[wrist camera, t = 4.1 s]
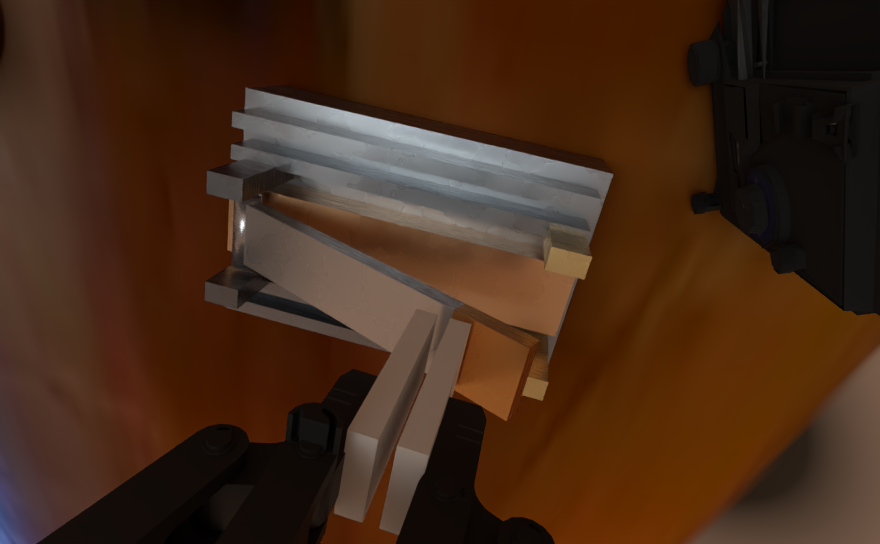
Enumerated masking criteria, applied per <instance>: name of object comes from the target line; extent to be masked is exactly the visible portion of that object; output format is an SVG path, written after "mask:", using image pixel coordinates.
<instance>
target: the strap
mask: <svg viewBox="0 0 880 544" xmlns="http://www.w3.org/2000/svg"><path fill="white" fill-rule="evenodd" d="M231 264H232V266H233V267H234V268H237V269H241V270H251V269H253V270H254V271H256V272H258V273H259V274H261V275H263V276H264V277H266V278H268V279H269V280H271V281H273V282H274V283H276V284H278V285H279V286H281V287H283V288H284V289H286V290H288V291H289V292H291V293H293V294H294V295H296V296H298V297H299V298H301V299H303V300H304V301H306V302H308V303H309V304H311V305H313V306H314V307H316V308H318V309H319V310H321V311H323V312H324V313H326V314H328V315H329V316H331V317H333V318H335V319H336V320H338V321H340V322H341V323H343V324H345V325H346V326H348V327H350V328H351V329H353V330H355V331H356V332H358V333H360V334H361V335H363V336H365V337H366V338H368V339H370V340H371V341H373V342H375V343H376V344H378V345H380V346H381V347H383V348H385V349H386V350H388V351H390V352H391V353H392V351H393V350H394V348H395V346H396V344H397V343H398V341H399V339H400V337H401V336H402V334H403V332H404V330H405V329H406V327H407V325H408V323H409V322H410V320H411V318H412V316H413V315H414V313H415V311H416V309H420V310H423V311H427V312H430V313H434V314H437V315H438V316H437V320H436V325H435V329H434V333H433V338H432V342H431V346H430V351H429V355H428V360H427V364H426V368H425V373H428V371H429V368H430V366H431V363H432V361H433V359H434V356H435V354H436V351H437V349H438V347H439V344H440V342H441V339H442V337H443V335H444V332H445V330H446V328H447V325H448V323H449V320H450V318H452V319H455V320H459V321H462V322H466V323H469V324H471V328H470V332H469V336H468V340H467V344H466V347H465V351H464V355H463V359H462V363H461V367H460V371H459V374H458V378H457V382H456V386H455V389H454V390H455V391H457V392H458V393H460V394H462V395H463V396H465V397H467V398H468V399H470V400H472V401H473V402H475V403H477V404H478V405H480V406H482V407H483V408H485V409H487V410H488V411H490V412H492V413H493V414H495V415H497V416H498V417H500V418H502V419H503V420H505V421H507V420H508V419H509V418H510V417H511V416H512V415H513V414H514V413H515V412H516V411H517V409H518V406H519V403H520V400H521V396H522V393H523V390H524V387H525V384H526V381H527V378H528V375H529V372H530V369H531V366H532V363H533V360H534V357H535V354H536V350H537V347H538V344H539V341H540V340H538V339H536V338H534V337H532V336H530V335H528V334H526V333H524V332H522V331H520V330H518V329H516V328H514V327H512V326H510V325H508V324H506V323H504V322H502V321H500V320H498V319H496V318H494V317H492V316H490V315H488V314H486V313H484V312H482V311H480V310H478V309H476V308H474V307H472V306H470V305H468V304H466V303H464V302H462V301H460V300H458V299H456V298H454V297H452V296H450V295H448V294H445V293H443V292H441V291H439V290H437V289H435V288H433V287H431V286H429V285H427V284H425V283H423V282H421V281H419V280H417V279H415V278H413V277H411V276H409V275H407V274H405V273H403V272H401V271H399V270H397V269H395V268H393V267H391V266H389V265H387V264H385V263H383V262H381V261H379V260H377V259H375V258H373V257H371V256H369V255H367V254H365V253H363V252H361V251H359V250H357V249H355V248H353V247H351V246H349V245H347V244H344V243H342V242H340V241H338V240H336V239H334V238H332V237H330V236H328V235H326V234H324V233H322V232H320V231H318V230H316V229H314V228H312V227H310V226H308V225H306V224H304V223H302V222H300V221H298V220H296V219H294V218H292V217H290V216H288V215H286V214H284V213H282V212H280V211H278V210H276V209H274V208H272V207H270V206H268V205H266V204H264V203H262V194H259V195H257V196H255V197H253V198H251V199H248V200H246V201H244V202H238V201H234V213H233V238H232V263H231Z"/></svg>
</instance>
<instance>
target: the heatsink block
mask: <svg viewBox="0 0 880 544" xmlns="http://www.w3.org/2000/svg"><path fill="white" fill-rule="evenodd" d="M232 127H236V128H240V129H244V141H241V142H237V143H233V144H231V159H234V160H238V161H236V162H233V163H230V164H227V165H223V166H220V167H217V168H214V169H210V170H207V194H211V195H214V196H218V197H222V198H226V199H229V222H228V251H232V238H233V213H234V201H238V202H244V201H246V200H248V199H251V198H253V197H255V196H257V195H259V194H262V203H264V204H266V205H268V206H270V207H272V208H274V209H276V210H278V211H280V212H282V213H284V214H286V215H288V216H290V217H292V218H294V219H296V220H298V221H300V222H302V223H304V224H306V225H308V226H310V227H312V228H314V229H316V230H318V231H320V232H322V233H324V234H326V235H328V236H330V237H332V238H334V239H336V240H338V241H340V242H342V243H344V244H347V245H349V246H351V247H353V248H355V249H357V250H359V251H361V252H363V253H365V254H367V255H369V256H371V257H373V258H375V259H377V260H379V261H381V262H383V263H385V264H387V265H389V266H391V267H393V268H395V269H397V270H399V271H401V272H403V273H405V274H407V275H409V276H411V277H413V278H415V279H417V280H419V281H421V282H423V283H425V284H427V285H429V286H431V287H433V288H435V289H437V290H439V291H441V292H443V293H445V294H448V295H450V296H452V297H454V298H456V299H458V300H460V301H462V302H464V303H466V304H468V305H470V306H472V307H474V308H476V309H478V310H480V311H482V312H484V313H486V314H488V315H490V316H492V317H494V318H496V319H498V320H500V321H502V322H504V323H506V324H508V325H510V326H512V327H514V328H516V329H518V330H520V331H522V332H524V333H526V334H528V335H530V336H532V337H534V338H536V339H538V340H540V341H539V344H538V347H537V350H536V354H535V357H534V360H533V363H532V366H531V369H530V372H529V375H528V378H527V381H526V384H525V387H524V390H523V393H522V395H523V396H527V397H531V398H534V399H538V400H543V397H544V394H545V391H546V388H547V386H548V383H549V380H548V364H549V361H550V358H551V355H552V353H553V350H554V347H555V344H556V341H557V338H558V335H559V332H560V329H561V326H562V323H563V320H564V317H565V314H566V312H567V309H568V306H569V303H570V300H571V297H572V294H573V291H574V288H575V285H576V282H577V279H578V278H579V279H583V280H584V279H585V276H586V273H587V270H588V267H589V265H590V262H591V259H592V255H591V251H590V248H589V244H590V241H591V238H592V235H593V232H594V230H595V227H596V224H597V221H598V218H599V215H600V212H601V209H602V206H603V203H604V200H605V197H606V194H607V191H608V189H609V186H610V183H611V180H612V177H613V173H612V171H611V170H610V169H609V167H608V166H607V165H606V163H605V162H604V161H603V160H602V159H598V158H593V157H589V156H585V155H580V154H576V153H572V152H567V151H563V150H559V149H555V148H550V147H546V146H542V145H537V144H533V143H529V142H524V141H520V140H516V139H512V138H507V137H503V136H499V135H494V134H490V133H486V132H481V131H477V130H473V129H469V128H464V127H460V126H456V125H451V124H447V123H443V122H438V121H434V120H430V119H426V118H421V117H417V116H413V115H408V114H404V113H400V112H395V111H391V110H387V109H383V108H378V107H374V106H370V105H365V104H361V103H357V102H352V101H348V100H344V99H340V98H335V97H331V96H327V95H322V94H318V93H314V92H309V91H305V90H301V89H296V88H292V87H288V86H284V85H282V86H267V87H251V88H246V97H245V109H244V110H237V111H232ZM205 301H208V302H212V303H215V304H219V305H223V306H226V308H229V309H233V310H237V311H240V312H244V313H248V314H251V315H255V316H259V317H262V318H266V319H270V320H273V321H277V322H281V323H284V324H288V325H291V326H295V327H299V328H302V329H306V330H310V331H313V332H317V333H321V334H324V335H328V336H332V337H335V338H339V339H343V340H346V341H350V342H354V343H357V344H361V345H365V346H368V347H372V348H376V349H379V350H383V351H387V352H390V351H388V350H386V349H385V348H383V347H381V346H380V345H378V344H376V343H375V342H373V341H371V340H370V339H368V338H366V337H365V336H363V335H361V334H360V333H358V332H356V331H355V330H353V329H351V328H350V327H348V326H346V325H345V324H343V323H341V322H340V321H338V320H336V319H335V318H333V317H331V316H329V315H328V314H326V313H324V312H323V311H321V310H319V309H318V308H316V307H314V306H313V305H311V304H309V303H308V302H306V301H304V300H303V299H301V298H299V297H298V296H296V295H294V294H293V293H291V292H289V291H288V290H286V289H284V288H283V287H281V286H279V285H278V284H276V283H274V282H273V281H271V280H269V279H268V278H266V277H264V276H263V275H261V274H259V273H258V272H256V271H254V270H253V269H251V270H241V269H237V268H234V267H233V266H232V265H230V266H229V267H227V268H225V269H224V270H222V271H221V272H219V273H218V274H216V275H215V276H213V277H211V278H210V279H208V280H207V281H205ZM390 353H391V352H390Z"/></svg>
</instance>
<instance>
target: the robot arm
mask: <svg viewBox="0 0 880 544" xmlns="http://www.w3.org/2000/svg"><path fill="white" fill-rule="evenodd" d="M437 316H438V315H437V314H434V313H430V312H427V311H423V310H420V309H416V311H415V313H414V315H413V316H412V318H411V320H410V322H409V323H408V325H407V327H406V329H405V330H404V332H403V334H402V336H401V337H400V339H399V341H398V343H397V344H396V346H395V348H394V350H393V351H392V353H391V355H390V357H389V358H388V360H387V362H386V363H385V365H384V367H383V369H382V370H381V372H380V374H379V376H375V375H371V374H368V373H365V372H361V371H358V370H355V369H353V370H351V371H349V372H347V373H346V374H344V375H342V376H340V378H339V379H338V380H337V382H336V383H335V385H334V386H333V388H332V389H331V391H330V392H329V393H328V395H327V397H326V398H325V399H324V401H323V402H322V403H316V402H314V403H305V404H302V405H299V406H297V407H295V408H294V409H292V410H291V411H290V412H289V413H288V420H287V430H286V440H285V441H284V442H279V443H251V442H249V439H248V436H247V433H246V432H244V431H243V430H242V429H241V428H239V427H236V426H233V425H230V424H217V425H212V426H208V427H206V428H204V429H202V430H200V431H198V432H196V433H195V434H193V435H192V436H191V437H189V438H188V439H186V440H185V441H183V442H182V443H180V444H179V445H178V446H176V447H175V448H173V449H172V450H170V451H169V452H168V453H166V454H165V455H163V456H162V457H160V458H159V459H158V460H156V461H155V462H153V463H152V464H150V465H149V466H147V467H146V468H145V469H143V470H142V471H140V472H139V473H137V474H136V475H135V476H133V477H132V478H130V479H129V480H127V481H126V482H125V483H123V484H122V485H120V486H119V487H117V488H116V489H114V490H113V491H112V492H110V493H109V494H107V495H106V496H104V497H103V498H102V499H100V500H99V501H97V502H96V503H94V504H93V505H92V506H90V507H89V508H87V509H86V510H84V511H83V512H81V513H80V514H79V515H77V516H76V517H74V518H73V519H71V520H70V521H69V522H67V523H66V524H64V525H63V526H61V527H60V528H59V529H57V530H56V531H54V532H53V533H51V534H50V535H49V536H47V537H46V538H44V539H43V540H41V541H40V542H38V543H37V544H320V542H321V540H322V538H323V536H324V533H325V531H326V526H327V521H328V515H329V513H330V511H331V510H332V508H333V506H334V504H335V509H334V514H337V515H340V516H343V517H346V518H349V519H352V520H355V521H358V522H361V523H362V522H363V520H364V517H365V515H366V513H367V510H368V508H369V506H370V503H371V501H372V498H373V496H374V494H375V491H376V489H377V487H378V484H379V482H380V480H381V477H382V475H383V472H384V470H385V468H386V465H387V463H388V461H389V458H390V456H391V454H392V451H393V449H394V446H395V444H396V442H397V439H398V437H399V435H400V432H401V430H402V428H403V425H404V423H405V420H406V418H407V416H408V413H409V411H410V409H411V406H412V404H413V401H414V399H415V397H416V394H417V392H418V390H419V387H420V385H421V383H422V380H423V377H424V373H425V368H426V364H427V360H428V355H429V351H430V346H431V342H432V338H433V333H434V329H435V325H436V320H437ZM470 328H471V324H469V323H466V322H462V321H459V320H455V319H452V318H450V320H449V323H448V325H447V328H446V330H445V332H444V335H443V337H442V339H441V342H440V344H439V347H438V349H437V351H436V354H435V356H434V359H433V361H432V363H431V366H430V368H429V371H428V373H427V375H426V378H425V380H424V383H423V385H422V387H421V390H420V392H419V395H418V397H417V399H416V402H415V404H414V407H413V409H412V411H411V414H410V416H409V418H408V421H407V423H406V426H405V428H404V430H403V433H402V435H401V438H400V440H399V442H398V445H397V449H396V453H395V458H394V463H393V467H392V472H391V476H390V481H389V486H388V490H387V495H386V500H385V504H384V509H383V513H382V518H381V523H380V527H379V529H382V530H385V531H388V532H391V533H394V534H397V535H399V536H398V539H397V542H396V544H555V543H554V541H553V538H552V536H551V535H550V534H549V533H548V532H547V531H546V529H545V528H544V527H542V526H541V525H539V524H538V523H536V522H535V521H533V520H530V519H527V518H523V517H512V518H510V519H508V520H506V521H504V522H503V521H502V520H500V519H499V518H497V517H496V516H494V515H493V514H491V513H490V512H489V511H487V510H486V509H485V508H484V507H483V505H482V504H481V503H480V502H479V500H478V498H477V496H476V493H475V489H474V482H475V476H476V471H477V466H478V461H479V456H480V450H481V444H482V440H483V434H484V430H485V425H486V417H485V414H484V411H483V409H482V406H479V405H475V404H472V403H469V402H465V401H462V400H459V399H455V398H452V396H453V393H454V389H455V386H456V382H457V378H458V374H459V371H460V367H461V363H462V359H463V355H464V351H465V347H466V344H467V340H468V336H469V332H470ZM335 502H336V503H335Z"/></svg>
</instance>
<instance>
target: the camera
mask: <svg viewBox="0 0 880 544" xmlns="http://www.w3.org/2000/svg"><path fill="white" fill-rule="evenodd" d="M723 22H724V36H723V37H722V34H721V30H720V26H719V21H718V22H717V25H716V27H715V29H714V31H713V33H712V35H711V37H710V39H709V40H706V41H701V42H697V43H692V44H691V45H690V47H689V50H688V70H689V75H690V80H691V82H692V84H693V85H694V86H695V87H696V86H700V85H704V84H707V83H711V82H712V95H713V111H714V126H715V142H716V157H717V173H718V179H717V182H716V186H715V190H714V195H713V194H708V195H707V194H706V192H702V193H699V194H695V195H693V196H692V198H691V203H692V209H693V212H694V214H701V213H705V212H708V211H714V210H720V213H721V215H722V216H723V217H724V218H726V219H727V220H728V221H729V222H731V223H732V224H733V225H735V226H736V227H737V228H738V229H740V230H741V231H742V232H743V233H745V234H746V235H747V236H749V237H750V238H751V239H752V240H754V241H755V242H756V243H758V244H759V245H760V246H761V247H762V248H764V249H765V250H767V251H768V252H769V253H770V256H771V262H772V265H773V267H774V270H775V271H776V272H777V273H778V274H783V273H791V272H792V271H793V272H795V273H796V274H797V275H799V276H800V277H801V278H802V279H804V280H805V281H806V282H807V283H809V284H810V285H811V286H813V287H814V288H815V289H816V290H818V291H819V292H820V293H822V294H823V295H824V296H825V297H827V298H828V299H829V300H830V301H832V302H833V303H834V304H836V305H837V306H838V307H839V308H841V309H842V310H843V311H852V312H854V313H855V314H856V315H863V314H871V313H876V314H878V315H880V0H728V4H727V6H726V8H725V10H724V12H723Z"/></svg>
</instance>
